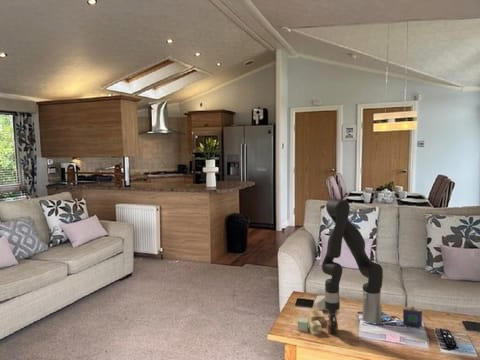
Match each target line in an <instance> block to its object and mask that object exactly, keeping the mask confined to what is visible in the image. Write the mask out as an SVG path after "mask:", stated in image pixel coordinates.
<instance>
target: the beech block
mask: <svg viewBox="0 0 480 360" xmlns="http://www.w3.org/2000/svg"><path fill="white" fill-rule="evenodd" d="M308 330H309V332H310V334H311V336H315V334H317V335H322V325H321V324H320V322H319V321H318V320H317V321H310V320H308Z"/></svg>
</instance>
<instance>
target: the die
mask: <svg viewBox="0 0 480 360" xmlns="http://www.w3.org/2000/svg"><path fill="white" fill-rule="evenodd" d="M314 305H315V306H316V308H317V311H322V312H323V311H328V310H327V309H326V308H325V294H324V295H317V296H316V299H315V301H314Z"/></svg>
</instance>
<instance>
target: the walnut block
mask: <svg viewBox="0 0 480 360" xmlns="http://www.w3.org/2000/svg"><path fill="white" fill-rule="evenodd" d="M330 325H331V322H330V321H329V319H326V331H327V334H329V335H332V334H331V326H330ZM336 326H337V327H335V334H334V335H338V334H339V324H338V322H337V323H336Z"/></svg>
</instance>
